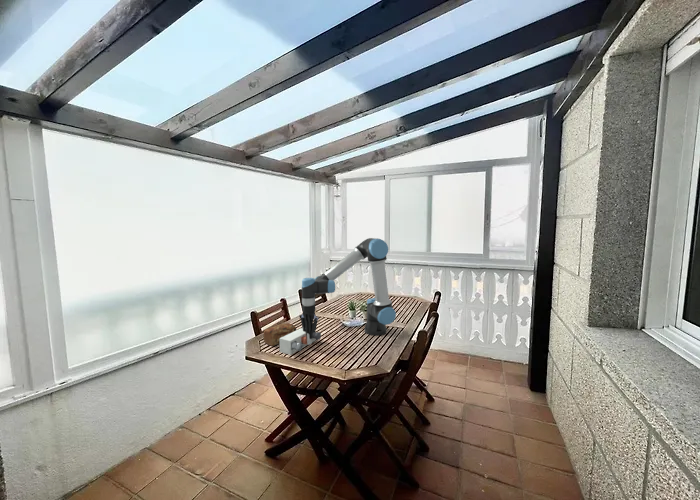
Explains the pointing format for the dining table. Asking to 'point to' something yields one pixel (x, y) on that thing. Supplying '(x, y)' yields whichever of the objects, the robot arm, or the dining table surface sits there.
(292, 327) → the bread
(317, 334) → the grey plug
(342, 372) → the dining table surface
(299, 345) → the steel plug
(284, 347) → the socket block
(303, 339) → the red plug
